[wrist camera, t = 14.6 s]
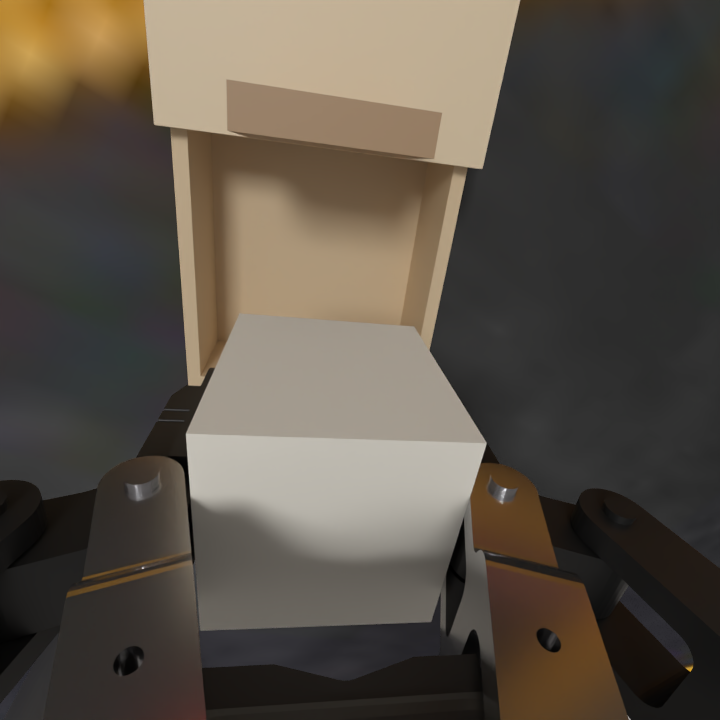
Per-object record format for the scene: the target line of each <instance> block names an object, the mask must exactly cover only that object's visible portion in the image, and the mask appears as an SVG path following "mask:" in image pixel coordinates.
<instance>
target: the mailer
mask: <svg viewBox="0 0 720 720" xmlns="http://www.w3.org/2000/svg"><path fill="white" fill-rule="evenodd" d="M170 129H171V143H172V157H173V171H174V186H175V200H176V214H177V228H178V243H179V257H180V271H181V285H182V300H183V314H184V328H185V342H186V357H187V371H188V385H189V386H201V384H202V382H203V380H204V378H205V376H206V374H207V372H208V370H209V368H215V367H216V365H217V363H218V361H219V358H220V356H221V354H222V352H223V349H224V347H225V345H226V343H227V340H228V338H229V336H230V334H231V331H232V329H233V327H234V325H235V322H236V320H237V318H238V316H239V313H242V314H255V315H268V316H282V317H295V318H308V319H321V320H335V321H348V322H361V323H374V324H388V325H401V326H414V327H415V329H416V330H417V332H418V333H419V335H420V337H421V338H422V340H423V341H424V343H425V345H426V346H427V348H428V349H429V350H430V345H431V340H432V336H433V331H434V326H435V321H436V317H437V312H438V307H439V302H440V298H441V293H442V288H443V283H444V278H445V274H446V269H447V264H448V259H449V255H450V250H451V245H452V240H453V235H454V231H455V226H456V221H457V216H458V212H459V207H460V202H461V197H462V193H463V188H464V183H465V178H466V173H467V169H468V167H461V166H453V165H446V164H438V163H431V162H424V161H416V160H409V159H401V158H394V157H387V156H379V155H372V154H364V153H357V152H350V151H342V150H335V149H327V148H320V147H313V146H305V145H298V144H291V143H283V142H276V141H268V140H261V139H254V138H246V137H239V136H231V135H224V134H217V133H209V132H202V131H194V130H187V129H180V128H172V127H170Z"/></svg>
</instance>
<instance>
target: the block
mask: <svg viewBox="0 0 720 720" xmlns="http://www.w3.org/2000/svg"><path fill="white" fill-rule="evenodd" d="M186 443H187V457H188V470H189V484H190V497H191V511H192V525H193V538H194V552H195V565H196V579H197V593H198V606H199V620H200V631H206V630H232V629H259V628H285V627H311V626H338V625H364V624H391V623H417V622H431V621H432V617H433V614H434V611H435V608H436V605H437V601H438V598H439V595H440V592H441V589H442V585H443V582H444V579H445V576H446V573H447V569H448V566H449V563H450V560H451V556H452V553H453V550H454V547H455V544H456V540H457V537H458V534H459V531H460V528H461V524H462V521H463V518H464V514H465V511H466V508H467V505H468V501H469V498H470V496H471V492H472V489H473V486H474V483H475V480H476V476H477V473H478V470H479V467H480V464H481V460H482V457H483V454H484V451H485V448H486V444H487V443H486V441H485V440H484V438H483V436H482V435H481V433H480V432H479V430H478V428H477V427H476V425H475V423H474V422H473V420H472V419H471V417H470V415H469V414H468V412H467V411H466V409H465V407H464V406H463V404H462V403H461V401H460V399H459V398H458V396H457V395H456V393H455V391H454V390H453V388H452V386H451V385H450V383H449V382H448V380H447V378H446V377H445V375H444V374H443V372H442V370H441V369H440V367H439V366H438V364H437V362H436V361H435V359H434V357H433V356H432V354H431V353H430V351H429V349H428V348H427V346H426V345H425V343H424V341H423V340H422V338H421V337H420V335H419V333H418V332H417V330H416V329H415V327H414V326H401V325H388V324H374V323H361V322H348V321H335V320H321V319H308V318H295V317H282V316H268V315H255V314H242V313H239V316H238V318H237V320H236V322H235V325H234V327H233V329H232V331H231V334H230V336H229V338H228V340H227V343H226V345H225V347H224V349H223V352H222V354H221V356H220V358H219V361H218V363H217V365H216V367H215V370H214V372H213V374H212V376H211V378H210V381H209V383H208V385H207V387H206V390H205V392H204V394H203V396H202V399H201V401H200V403H199V405H198V408H197V410H196V412H195V414H194V417H193V419H192V421H191V423H190V426H189V428H188V430H187V432H186Z"/></svg>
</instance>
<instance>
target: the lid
mask: <svg viewBox="0 0 720 720" xmlns="http://www.w3.org/2000/svg"><path fill="white" fill-rule="evenodd" d="M519 3H520V0H144V10H145V22H146V34H147V46H148V58H149V69H150V81H151V93H152V105H153V117H154V125H159V126H165V127H172V128H180V129H187V130H194V131H202V132H209V133H217V134H224V135H231V136H239V137H246V138H254V139H261V140H268V141H276V142H283V143H291V144H298V145H305V146H313V147H320V148H327V149H335V150H342V151H350V152H357V153H364V154H372V155H379V156H387V157H394V158H401V159H409V160H416V161H424V162H431V163H438V164H446V165H453V166H461V167H468V168H475V169H482V168H483V164H484V159H485V155H486V150H487V146H488V141H489V137H490V132H491V128H492V123H493V119H494V114H495V110H496V106H497V101H498V97H499V92H500V88H501V83H502V79H503V74H504V70H505V65H506V61H507V56H508V52H509V47H510V43H511V38H512V34H513V30H514V25H515V21H516V16H517V12H518V7H519Z"/></svg>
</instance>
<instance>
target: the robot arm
mask: <svg viewBox="0 0 720 720" xmlns="http://www.w3.org/2000/svg"><path fill="white" fill-rule="evenodd" d="M214 370H215V368H209V370H208V372H207V374H206V376H205V378H204V380H203V382H202V384H201V386H189V385H186V386H185V387H183V388H182V389H181V390H179V391H178V392H176V393H175V394H173V395H172V396H171V398H170V399H169V401H168V403H167V405H166V406H165V408H164V411H163V412H162V413H161V415H160V417H159V419H158V422H156V424H155V426H154V427H153V429H152V431H151V433H150V434H149V436H148V438H147V440H146V441H145V443H144V445H143V447H142V448H141V450H140V452H139V454H138V455H137V457H136V458H134V459H131V460H128V461H126V462H123V463H121V464H119V465H117V466H116V467H114V468H113V469H111V470H110V471H109V472H107V473H106V474H105V475H104V476H103V478H102V479H101V480H100V482H99V484H98V487H97V488H96V489H93V490H90V491H87V492H83V493H78V494H73V495H68V496H63V497H58V498H53V499H48V500H42V497H41V493H40V491H39V489H38V488H37V487H36V486H35V485H33V484H32V483H29V482H26V481H20V480H6V481H0V703H1V702H2V701H3V700H4V698H5V697H6V696H7V695H8V694H9V692H10V691H11V690H12V689H13V687H14V686H15V685H16V684H17V683H18V681H19V680H20V679H21V678H22V677H23V675H24V674H25V673H26V672H27V670H28V669H29V668H30V667H31V666H32V664H33V663H34V662H35V663H34V665H33V666H32V668H31V670H30V672H29V673H28V675H27V677H26V679H25V681H24V682H23V684H22V686H21V688H20V690H19V692H18V694H17V695H16V697H15V699H14V701H13V703H12V705H11V706H10V708H9V710H8V712H7V714H6V716H5V718H4V719H3V720H629V719H628V716H629V718H630V719H631V720H720V568H718V567H717V566H716V565H714V564H713V563H712V562H711V561H709V560H708V559H707V558H706V557H704V556H703V555H702V554H700V553H699V552H698V551H697V550H695V549H694V548H693V547H691V546H690V545H689V544H688V543H686V542H685V541H684V540H682V539H681V538H680V537H679V536H677V535H676V534H675V533H674V532H672V531H671V530H670V529H668V528H667V527H666V526H665V525H663V524H662V523H661V522H659V521H658V520H657V519H656V518H654V517H653V516H652V515H650V514H649V513H648V512H647V511H645V510H644V509H643V508H642V507H640V506H639V505H637V504H636V503H635V502H633V501H631V500H630V499H628V498H626V497H624V496H622V495H620V494H617V493H615V492H612V491H608V490H604V489H588V490H585V491H584V492H582V493H581V495H580V497H579V499H578V501H577V503H576V505H574V504H570V503H566V502H562V501H558V500H554V499H550V498H546V497H542V496H539V495H538V493H537V490H536V488H535V486H534V485H533V484H532V482H531V481H530V480H529V479H528V478H527V477H525V476H524V475H523V474H521V473H520V472H518V471H516V470H514V469H512V468H510V467H507V466H505V465H501V464H499V462H498V460H497V459H496V457H495V455H494V454H493V452H492V451H491V449H490V447H489V446H488V444H486V448H485V451H484V454H483V457H482V460H481V464H480V467H479V470H478V473H477V476H476V480H475V483H474V486H473V489H472V492H471V496H470V498H469V501H468V505H467V508H466V511H465V514H464V518H463V521H462V524H461V528H460V531H459V534H458V537H457V540H456V544H455V547H454V550H453V553H452V556H451V560H450V563H449V566H448V569H447V573H446V576H445V579H444V582H443V585H442V589H441V624H440V653H439V656H424V657H412V658H410V659H407V660H404V661H402V662H399V663H397V664H394V665H391V666H389V667H386V668H383V669H381V670H378V671H375V672H373V673H370V674H367V675H365V676H362V677H359V678H357V679H354V680H350V681H341V680H336V679H332V678H328V677H324V676H320V675H315V674H311V673H307V672H303V671H299V670H295V669H291V668H287V667H282V666H278V665H274V664H273V665H254V666H235V667H216V668H202V664H201V653H200V642H199V631H198V620H197V608H196V597H195V586H194V575H193V563H194V560H195V552H194V538H193V525H192V511H191V497H190V484H189V470H188V457H187V443H186V432H187V430H188V428H189V426H190V423H191V421H192V419H193V417H194V414H195V412H196V410H197V408H198V405H199V403H200V401H201V399H202V396H203V394H204V392H205V390H206V387H207V385H208V383H209V381H210V378H211V376H212V374H213V372H214ZM466 411H467V410H466ZM468 414H469V413H468ZM471 419H472V418H471ZM476 427H477V426H476ZM481 435H482V434H481ZM484 440H485V439H484ZM486 443H487V442H486ZM628 585H629V586H630V587H631V588H632V589H633V590H634V591H635V592H636V593H637V594H638V595H639V596H640V597H641V598H642V599H643V600H644V601H645V602H646V603H647V604H648V605H649V606H650V607H651V608H652V609H654V610H655V611H656V612H657V613H658V614H659V615H660V616H661V617H662V618H663V619H664V620H665V621H666V622H667V623H668V624H669V625H670V626H671V627H672V628H673V629H674V630H675V631H676V632H677V633H678V634H679V635H680V636H681V637H682V638H683V639H684V641H685V642H686V644H687V645H688V647H689V649H690V651H691V653H692V656H693V661H694V665H693V669H692V671H691V672H690V671H688V670H687V669H686V668H684V667H683V666H682V665H681V664H680V663H679V662H678V661H677V660H676V659H675V658H674V657H673V655H672V654H671V653H670V652H669V651H668V650H667V649H666V648H665V647H664V646H663V645H662V644H661V643H660V642H659V641H658V640H657V639H656V638H655V637H654V636H653V635H652V634H651V633H650V632H649V631H648V630H647V629H646V628H645V627H644V626H643V625H642V624H641V623H640V622H639V621H638V620H637V619H636V618H635V616H634V615H633V614H632V613H631V612H630V611H629V610H628V609H627V608H626V607H625V606H624V605H623V604H622V603H621V602H620V601H619V600H620V598H621V597H622V595H623V593H624V592H625V590H626V588H627V587H628ZM627 715H628V716H627Z"/></svg>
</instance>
